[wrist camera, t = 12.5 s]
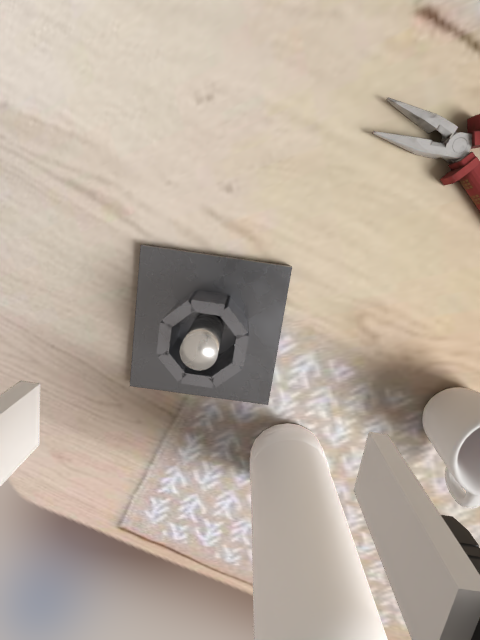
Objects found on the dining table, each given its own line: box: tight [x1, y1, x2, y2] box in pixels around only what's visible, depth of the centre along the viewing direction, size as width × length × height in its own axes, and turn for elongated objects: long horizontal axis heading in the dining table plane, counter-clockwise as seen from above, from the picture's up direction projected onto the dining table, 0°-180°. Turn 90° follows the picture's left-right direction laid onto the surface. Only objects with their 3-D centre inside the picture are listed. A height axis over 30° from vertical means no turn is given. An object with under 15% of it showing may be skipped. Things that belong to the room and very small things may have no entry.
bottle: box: [250, 423, 387, 640], centre depth 26 cm, size 8×8×30 cm
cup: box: [422, 387, 480, 508], centre depth 36 cm, size 11×8×8 cm
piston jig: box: [130, 245, 292, 405], centre depth 33 cm, size 14×14×8 cm
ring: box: [157, 290, 249, 388], centre depth 34 cm, size 7×7×5 cm
